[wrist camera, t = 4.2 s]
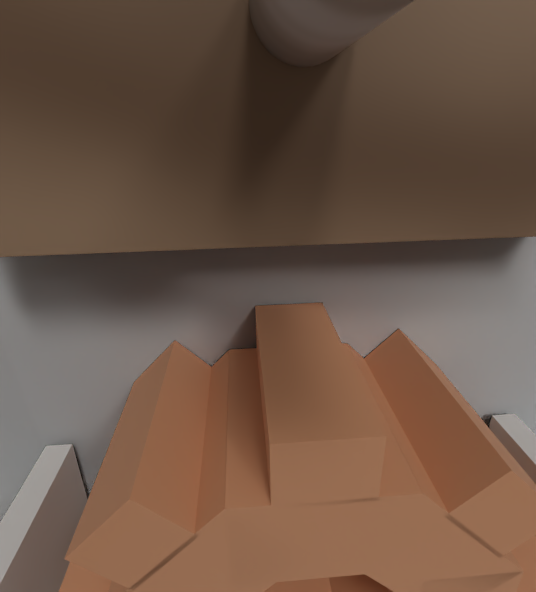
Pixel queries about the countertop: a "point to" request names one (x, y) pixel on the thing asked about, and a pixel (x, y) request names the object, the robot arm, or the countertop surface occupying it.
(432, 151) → the gear board
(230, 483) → the rust gear
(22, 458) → the countertop surface
